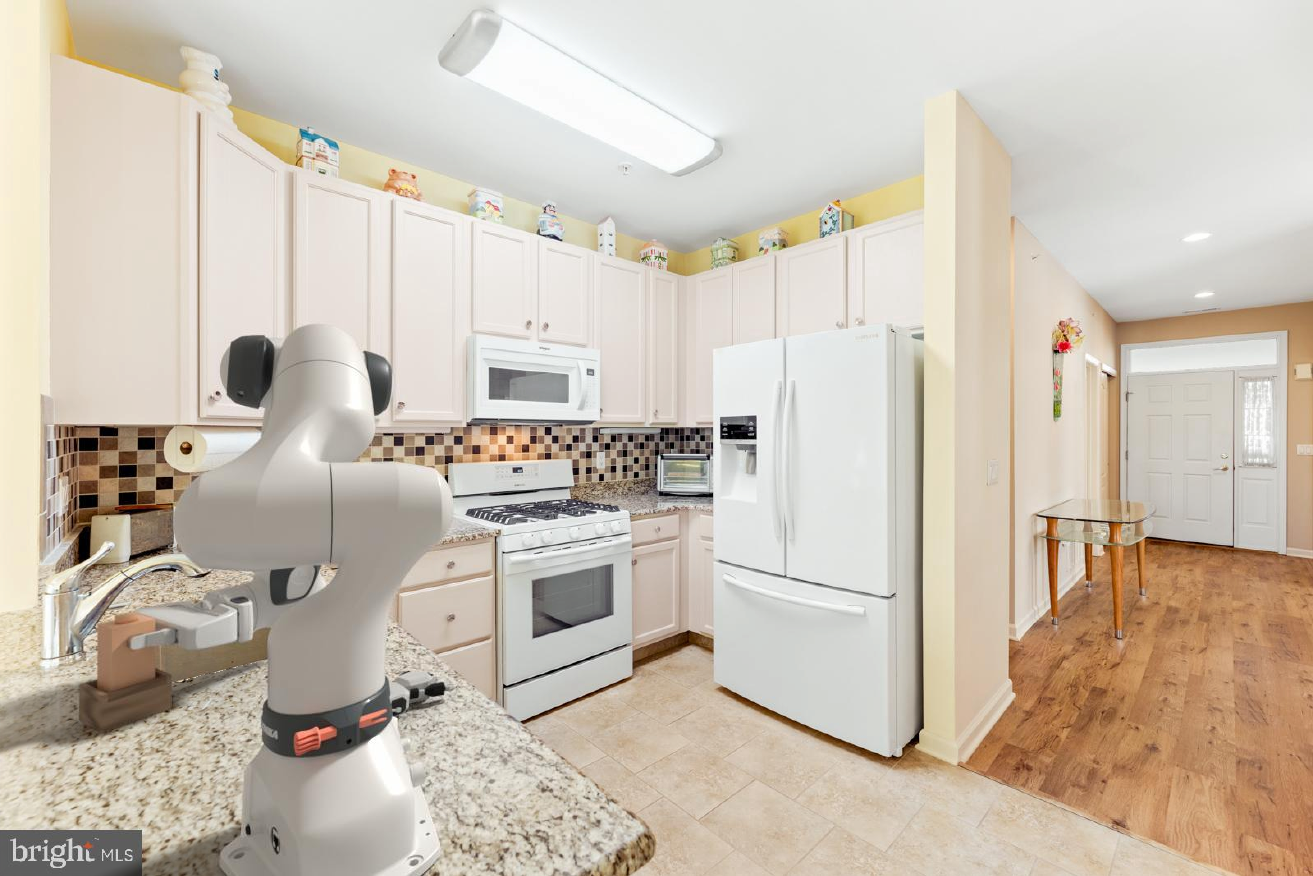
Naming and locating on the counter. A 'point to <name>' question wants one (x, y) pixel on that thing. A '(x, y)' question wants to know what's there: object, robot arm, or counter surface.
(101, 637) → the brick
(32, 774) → the counter surface
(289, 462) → the robot arm
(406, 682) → the robot toy
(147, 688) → the brown wooden box
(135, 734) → the counter surface
